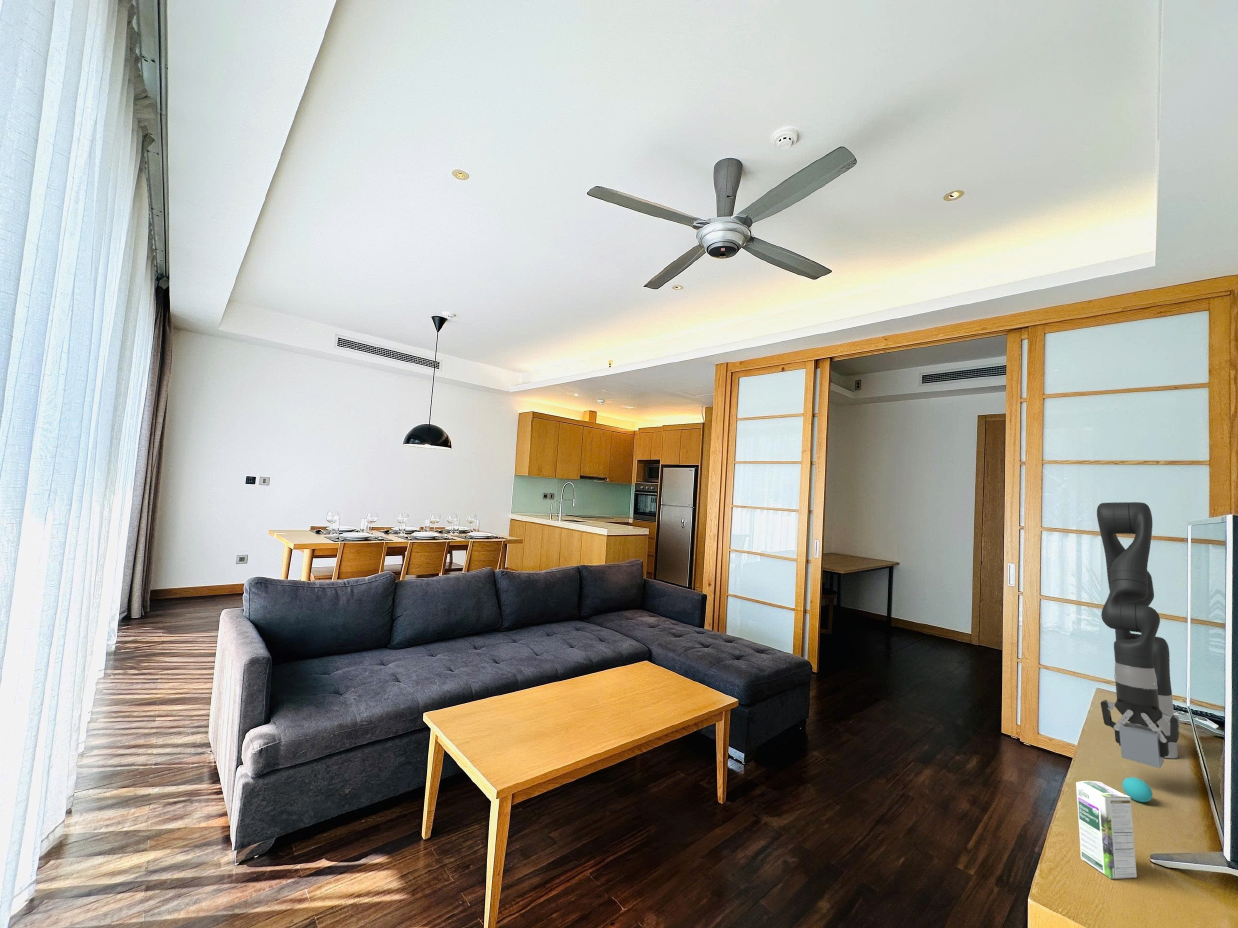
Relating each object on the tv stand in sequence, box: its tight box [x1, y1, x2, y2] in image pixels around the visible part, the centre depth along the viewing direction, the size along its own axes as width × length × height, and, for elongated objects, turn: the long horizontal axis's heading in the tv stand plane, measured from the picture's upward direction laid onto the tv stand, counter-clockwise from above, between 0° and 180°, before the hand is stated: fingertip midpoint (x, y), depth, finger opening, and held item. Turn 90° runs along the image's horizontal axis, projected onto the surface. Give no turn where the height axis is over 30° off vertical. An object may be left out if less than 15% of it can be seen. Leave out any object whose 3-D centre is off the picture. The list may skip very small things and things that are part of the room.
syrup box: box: [1075, 780, 1138, 880], centre depth 95 cm, size 6×6×14 cm
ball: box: [1121, 776, 1153, 803], centre depth 118 cm, size 5×5×5 cm
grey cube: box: [1119, 721, 1165, 769], centre depth 124 cm, size 7×7×7 cm
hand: (1141, 750), depth 124 cm, fingers closed on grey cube, 6 cm apart
